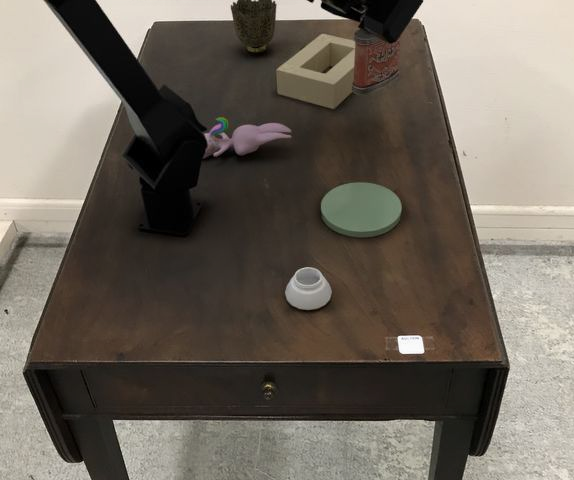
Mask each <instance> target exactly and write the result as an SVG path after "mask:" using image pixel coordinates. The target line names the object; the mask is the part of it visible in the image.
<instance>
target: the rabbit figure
mask: <svg viewBox="0 0 574 480" xmlns="http://www.w3.org/2000/svg"><path fill="white" fill-rule="evenodd" d="M215 121H217V122H219V123H217V125H215V126H213V127H212V128H211V129H210V131H209V132H207V133H203V134H204V135H205V137H206V140H207V144H208V147H207V148H206V151H205V155H204V157H203V158H202V160H203V159H206V158H209V157H210V156H212V155H213V157H215V158H216V157H218V156H220V155H221V154H223V153H224V152H226V151H227V150H229V149H230V148H234V151H235V154H236V155H238V156H245V155H247V154H250V153H253V152H255V151H257V150H258V149H259V148H260V146H261V145H264V144H266V143H269V142H271V141H274V140H278V139H291V138H292V135H289V134H286V133H292V130H291V128H289V127H288V126H286V125H284V124H282V123H279V122H268V123H264V124H261V125H258V126H257V125H254V124H243V125H240V126H238V127H237V128H235V130H233V132H232V135H231V138H229V136H228V135H227V134H226V133H225V132H226V131H227V130H228V129H229V127H230V126H229V125H230V124H229V120H228V119H227V118H225V117H222V116H221V117H217V118H215ZM216 134H217V135H219V136H221V137H222V138H219V137H216V136H215V135H216Z"/></svg>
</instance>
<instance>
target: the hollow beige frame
mask: <svg viewBox="0 0 574 480" xmlns="http://www.w3.org/2000/svg"><path fill="white" fill-rule="evenodd" d="M354 59H355V41H354V39H349V38H343V37H340V36H335V35H331V34H328V33H327V34H326V33H321V34H320V35H318V36H317V37H316V38H315V39H313V40H312V41H310V42H309V43H308V44H307V45H303V46H302V47H301V48H300V50H299V51H298V52H297V53H295V54H294V55H293V56H292V57H290V58H289V59H288V60H286V61H285V62H284V63H282V64H281V65H280V66H279V67H278V68H276V71H275V72H276V73H275V74H276V87H277V88H276V89H277V90H276V91H277V95H280V96H283V97H288V98H291V99H296V100H299V101H302V102H305V103H308V104H313V105H317V106H319V107H324V108H328V109H330V110H335V109H336V108H337V107H338V106H339V105H340V104H341V103H342V102H344V100H345V99H347V97H349V96H350V95H351V94H352V93H354V92H353V91H352V82H353V80H354ZM329 67H332V68H331V69H329V70H328V71H327V72H326V73H324V72H325V71H326V70H327V69H328V68H329Z"/></svg>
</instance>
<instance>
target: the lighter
mask: <svg viewBox="0 0 574 480" xmlns="http://www.w3.org/2000/svg"><path fill="white" fill-rule="evenodd" d="M364 15H365V14H364ZM364 15H362V17H361V21H362V20H363V18H364ZM361 21H360V22H359V24H360V23H361ZM401 38H402V35H401V36H400V37H399V39H398V40H397V42H394V43H392V44H389V43H387V42H385V41H383V40H381V39H379V38H378V37H376V36H374V35H372V34H369V33H368V32H366V31H364V30H362V29H360V28H359V29H358V30H356V31H355V32H354V34H353V41H355V59H354V80H353V82H352V91H353V92H352V93H354V94H356V95H361V96H365V95H368V94H369V95H370V94H372V93H374V92H377V91H379V90H381V89H383V88H385V87H387V86H389V85H391V84H392V83H394V82H395V81H397V79H399V75H400V69H399V62H400V52H401V41H402V40H401Z"/></svg>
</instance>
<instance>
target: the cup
mask: <svg viewBox="0 0 574 480" xmlns="http://www.w3.org/2000/svg"><path fill="white" fill-rule="evenodd" d="M277 5H278V4H277V3H276V0H237V1H233V2H232V4H231V5H230V12H231V15H232V20H233V26H234V30H235V34H236V37H237V38H238V40H239V41H240V43H242V44H243V45H244V46H245V51H246V52H247V54H248V55H251V56H261V55H264V54H265V53H266V52H267V50H268V44H269V43H270V42H271V41H272V40H273V38H274V35H275V30H276V22H277V21H276V20H277V19H276V18H277Z"/></svg>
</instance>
